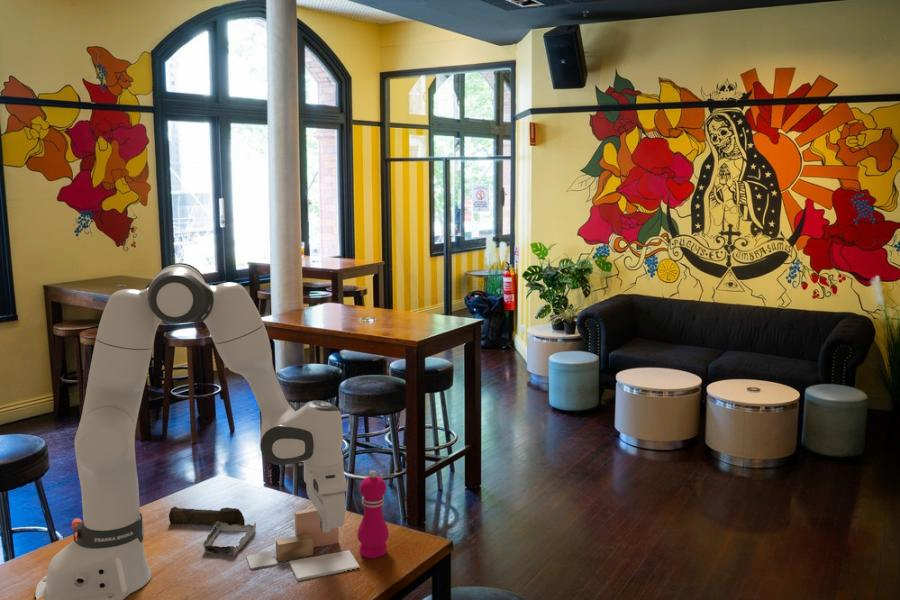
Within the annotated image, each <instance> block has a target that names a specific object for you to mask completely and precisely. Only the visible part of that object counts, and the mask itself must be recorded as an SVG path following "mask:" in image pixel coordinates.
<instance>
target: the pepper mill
mask: <svg viewBox="0 0 900 600" xmlns="http://www.w3.org/2000/svg"><path fill="white" fill-rule="evenodd" d="M386 491H387V485H386V481H385V480H384V479H383V478H382V477H380V476H378V473H377V471H375V470H370V472H369V473H368V476H366V477H364V478H363V479H362V481H361V482H360V485H359V493H360V494H361V495H362V498H361V501H362V503H361V504H362V505H363V509H364V511H363V517H362V519H361V522H360V524H359V526H358V529H357V539H358V541H359V542H360V544H359V553H360V556H361V557H363V556H364V558H366V557H367V558H366V559H377V558H376V557H379V558H381V557H380V556H382V557H384V556H385V555H386V554H387V543H386V542H387V541H388V540H389V537H390V536H389V534H390V533H389V527H388V525H387V523H386V520H385V518H384V515H383V505H384V504H385V501H384V499H385V497H384V495H385V493H386ZM385 553H386V554H385ZM384 554H385V555H384ZM383 555H384V556H383Z"/></svg>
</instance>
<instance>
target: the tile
mask: <svg viewBox="0 0 900 600" xmlns="http://www.w3.org/2000/svg"><path fill="white" fill-rule="evenodd" d="M304 534H311V536H312V538H313V548H317V546H318V547H323V546H328V544H329V545H333V544H339V543H340V542H339V527H337V528H330V531H329V532H325V533H324V532H323V531H322V530H321V528H320V526H319V517H318V513H317V510H316V508H315V507H314V508H308V509H302V510H296V511H294V536H299V535H304ZM338 542H339V543H338Z"/></svg>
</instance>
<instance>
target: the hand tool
mask: <svg viewBox="0 0 900 600" xmlns="http://www.w3.org/2000/svg"><path fill="white" fill-rule="evenodd" d="M168 520H169V523H170V524H173V523H175V524H179V523H185V524H187V523H189V524H202V525H204V524H205V525H216V522H218V521H219V522H220V523H221V522H222V524H223V523H227V524H228V525H230V526H231V525H233V524H234V525H237V524H238V525H241V526H243V525H246V524H245V517H244V515H243V513H242V511H241V510H240V509H239V508H233V507H221V508H220V509H219V510H217V509H216V510H215V509H214V510H213V509H197V508H196V509H195V508H186V507H185V508H183V507H181V508H180V507H177V506H173V507H171V508H170V510H169V513H168Z"/></svg>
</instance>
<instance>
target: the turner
mask: <svg viewBox="0 0 900 600" xmlns="http://www.w3.org/2000/svg"><path fill="white" fill-rule="evenodd" d="M311 556H314V547H313V538H312V536H311V534H304V535H299V536H295V535H294V536H288V537H282V538H278V539H277V538H276V539H275V553H274V551H267V552H262V553H256V554H251V555H246V560H247V563H248V566H249V569H250V571H252V570H257V569H265V568H268V567H274V566H278V565H279V563H278V562H281V561H286V560H287V561H289V560H291V559H297V558H299V559H300V558H303V557H311Z"/></svg>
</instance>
